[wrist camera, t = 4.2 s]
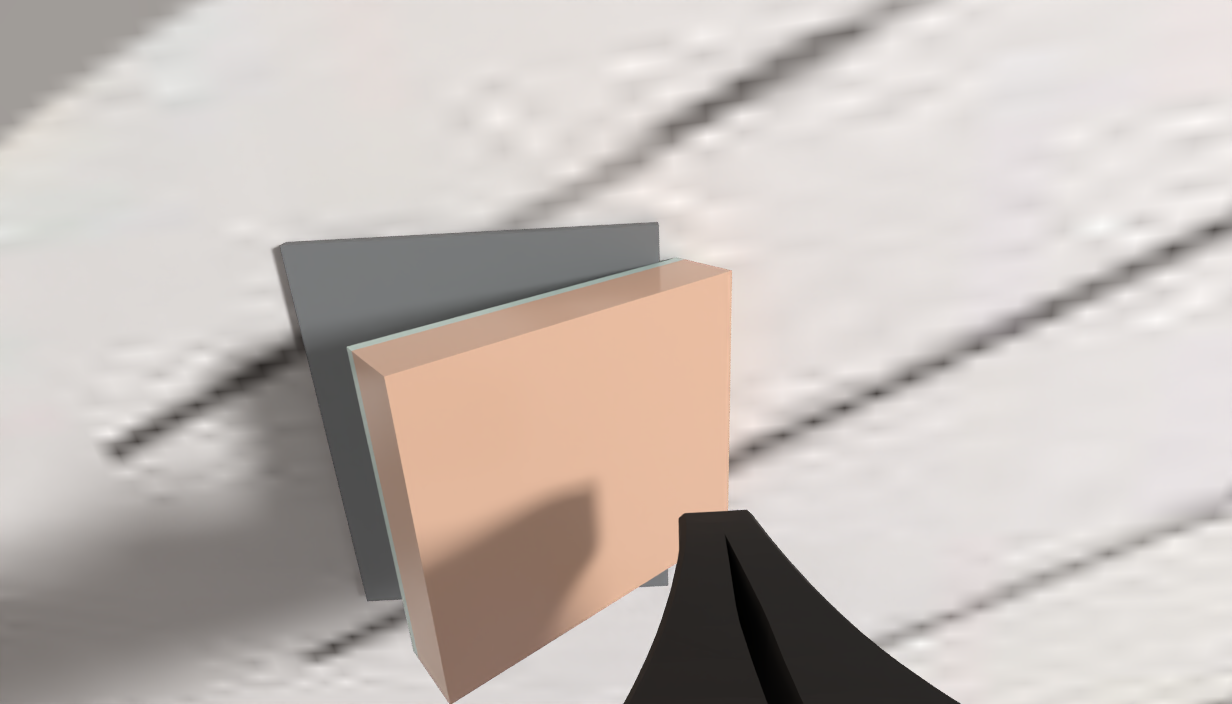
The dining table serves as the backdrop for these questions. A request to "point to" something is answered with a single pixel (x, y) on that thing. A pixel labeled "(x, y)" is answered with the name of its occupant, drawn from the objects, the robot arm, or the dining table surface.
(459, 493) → the peach green flat block
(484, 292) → the mat
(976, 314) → the dining table surface
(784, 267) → the dining table surface
